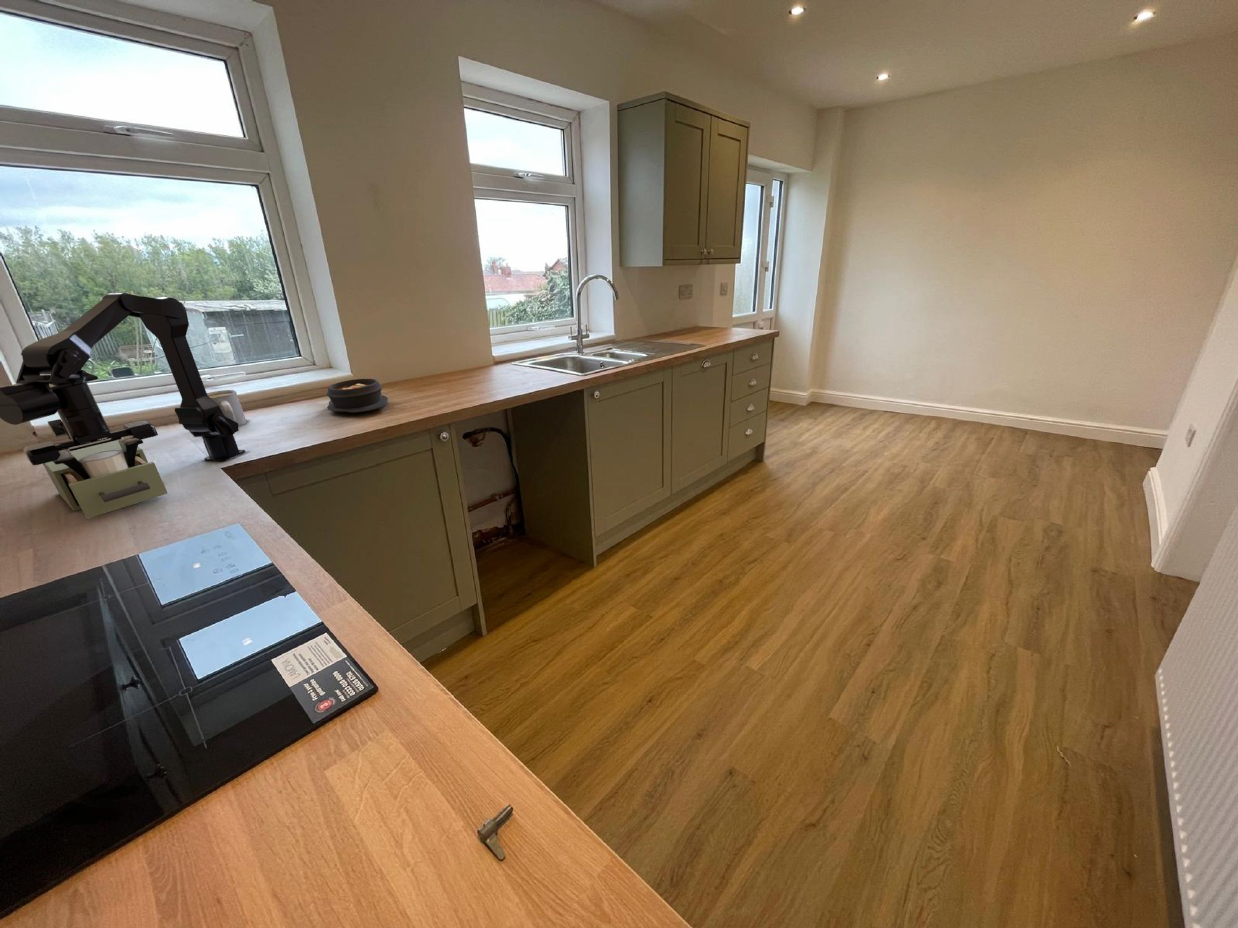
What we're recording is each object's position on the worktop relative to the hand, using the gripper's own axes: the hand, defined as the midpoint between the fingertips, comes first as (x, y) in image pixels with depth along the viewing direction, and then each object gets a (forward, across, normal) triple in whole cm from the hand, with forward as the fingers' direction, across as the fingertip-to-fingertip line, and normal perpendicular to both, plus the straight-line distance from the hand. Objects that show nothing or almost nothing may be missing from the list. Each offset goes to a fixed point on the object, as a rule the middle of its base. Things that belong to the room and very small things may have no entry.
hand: (113, 479), depth 105 cm
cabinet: (+6, 0, -13) cm, 14 cm away
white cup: (+2, 0, 0) cm, 2 cm away
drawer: (+5, 0, 0) cm, 5 cm away
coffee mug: (+6, -34, -44) cm, 55 cm away
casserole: (+6, -65, -23) cm, 69 cm away
